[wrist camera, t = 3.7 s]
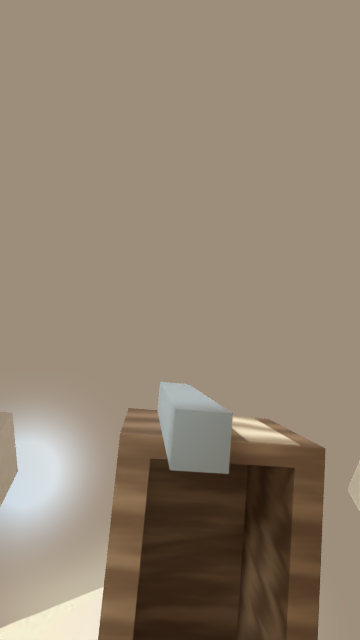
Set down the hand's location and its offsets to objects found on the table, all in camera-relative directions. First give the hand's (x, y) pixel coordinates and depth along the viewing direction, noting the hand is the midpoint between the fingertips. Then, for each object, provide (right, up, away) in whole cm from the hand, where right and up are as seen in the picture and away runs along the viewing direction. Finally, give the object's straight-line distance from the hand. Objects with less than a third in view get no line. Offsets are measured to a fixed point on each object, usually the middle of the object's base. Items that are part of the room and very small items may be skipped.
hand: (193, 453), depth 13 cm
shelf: (0, -37, +25) cm, 45 cm away
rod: (0, -7, +23) cm, 24 cm away
